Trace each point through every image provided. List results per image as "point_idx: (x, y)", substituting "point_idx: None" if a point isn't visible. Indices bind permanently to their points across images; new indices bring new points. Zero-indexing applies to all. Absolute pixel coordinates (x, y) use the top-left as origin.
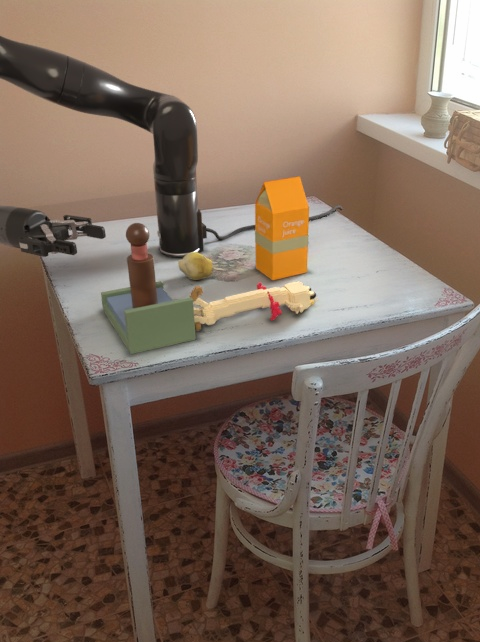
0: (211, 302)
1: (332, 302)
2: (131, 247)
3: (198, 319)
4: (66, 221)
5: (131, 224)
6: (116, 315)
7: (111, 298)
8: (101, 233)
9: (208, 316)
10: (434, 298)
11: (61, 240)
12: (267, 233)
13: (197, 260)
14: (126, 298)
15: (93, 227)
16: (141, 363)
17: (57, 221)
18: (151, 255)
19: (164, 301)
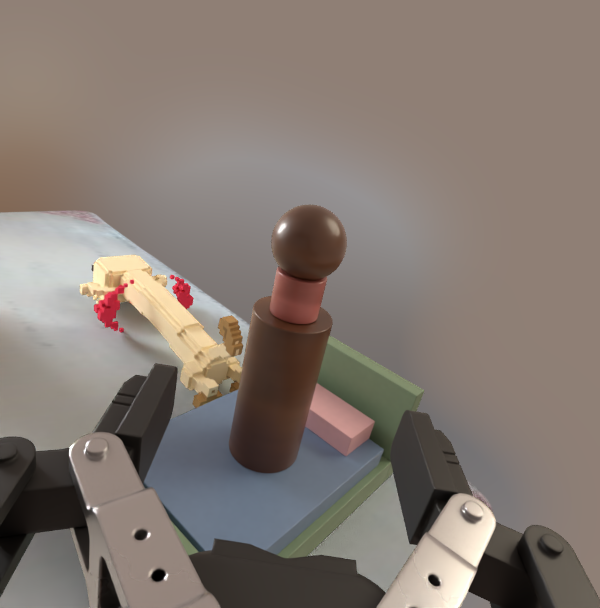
0: (202, 344)
1: (90, 274)
2: (322, 287)
3: None
4: (148, 545)
5: (321, 215)
6: (319, 509)
7: None
8: (173, 394)
9: (235, 359)
10: (74, 220)
11: (433, 468)
12: None
13: None
14: (218, 510)
15: (162, 401)
16: None
17: (199, 605)
18: (267, 298)
19: (209, 420)
